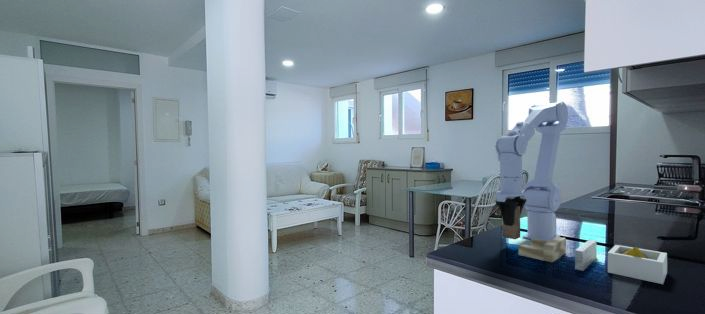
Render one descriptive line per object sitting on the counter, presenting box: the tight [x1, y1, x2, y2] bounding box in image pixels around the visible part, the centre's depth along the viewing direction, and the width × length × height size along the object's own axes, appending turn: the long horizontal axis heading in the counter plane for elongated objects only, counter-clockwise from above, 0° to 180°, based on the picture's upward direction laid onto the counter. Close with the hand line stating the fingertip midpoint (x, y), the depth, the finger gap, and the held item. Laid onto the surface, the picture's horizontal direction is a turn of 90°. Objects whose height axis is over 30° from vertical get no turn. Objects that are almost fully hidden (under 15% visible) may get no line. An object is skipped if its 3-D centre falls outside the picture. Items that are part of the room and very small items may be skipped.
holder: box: [607, 244, 668, 285], centre depth 71 cm, size 9×9×4 cm
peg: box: [501, 206, 521, 240], centre depth 91 cm, size 4×4×9 cm
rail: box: [574, 239, 598, 272], centre depth 77 cm, size 13×2×4 cm, turn 131°
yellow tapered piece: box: [620, 246, 649, 259], centre depth 71 cm, size 5×5×10 cm
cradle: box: [518, 236, 567, 263], centre depth 85 cm, size 11×8×4 cm
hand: (511, 224), depth 91 cm, fingers closed on peg, 3 cm apart
